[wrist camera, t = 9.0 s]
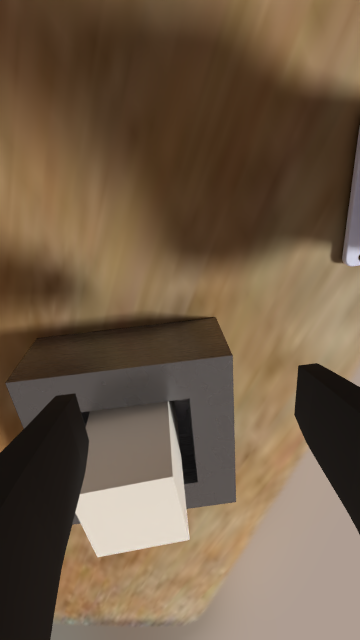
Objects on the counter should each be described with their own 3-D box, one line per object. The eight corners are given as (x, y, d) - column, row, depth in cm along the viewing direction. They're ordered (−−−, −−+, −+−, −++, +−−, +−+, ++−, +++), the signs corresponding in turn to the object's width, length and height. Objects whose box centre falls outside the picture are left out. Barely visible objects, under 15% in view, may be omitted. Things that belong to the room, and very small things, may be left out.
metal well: (215, 317, 19) (232, 355, 15) (221, 446, 24) (235, 501, 20) (36, 338, 19) (5, 383, 15) (78, 465, 24) (62, 525, 20)
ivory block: (165, 367, 20) (172, 476, 13) (177, 419, 22) (189, 539, 15) (98, 380, 20) (67, 496, 13) (115, 431, 22) (97, 557, 15)
